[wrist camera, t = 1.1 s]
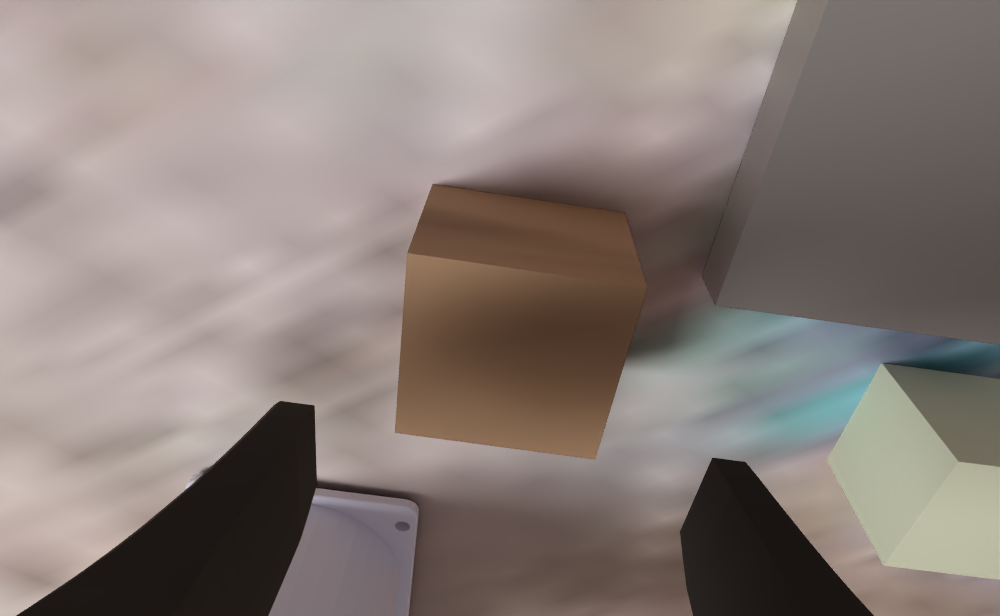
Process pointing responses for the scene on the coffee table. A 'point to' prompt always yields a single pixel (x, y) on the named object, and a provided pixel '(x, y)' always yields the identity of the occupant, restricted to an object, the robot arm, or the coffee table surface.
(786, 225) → the plinth
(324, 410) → the coffee table surface
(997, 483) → the sage block
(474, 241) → the walnut block
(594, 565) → the coffee table surface
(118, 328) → the coffee table surface
